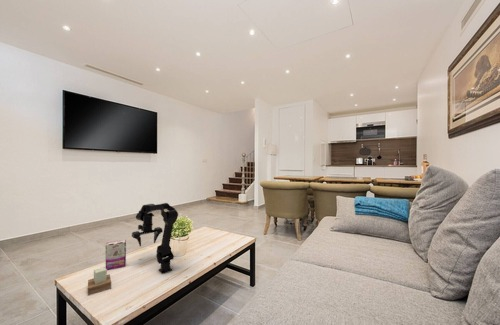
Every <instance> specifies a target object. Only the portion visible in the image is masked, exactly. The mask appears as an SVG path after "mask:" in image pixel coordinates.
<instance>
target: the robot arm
mask: <svg viewBox="0 0 500 325" xmlns="http://www.w3.org/2000/svg"><path fill="white" fill-rule="evenodd" d="M165 210H167V211H165ZM155 211H160V215H161V217H162V218H163V219H162V220H163V222H164V228H162V227H160V226H158V227H154V229H153V225H154V224H153V217H155V214H153V213H154V212H155ZM178 216H179V213H178V210H176V208H175V207H173V206H171V205H170V204H169V203H168V202H163V203H160V204H158V203H157V204H154V203H148V204H143V205H142V206H141V208H140V209H139V211H138V212H137V214H136V215H135V219H136V220H137V221H140V222H142V224H138V225H137V231H132V233H131V237H132V238H133V239H134V240H135V239H136V240H137V242H138V244H139V245H138V246H139V247H142V237H141V236H143V235H147V234H151V233H152V234H153V243H154V244H155V243H156V241H157V239H158V237H159V236H160V235H161V233H163V234H162V239H161V243H160V245H157V247H156V250H155V252H156V255H155V256H156V261H157V263H158V264H160V268H158V271H159V272H160V273H161V274H162V275H163V274H166V273H168V272H171V271H173V268H172V267H171V260H174V258H175V256H174V254H173V252H172V246H171V245H170V244H171V239H172V234H173V233H172V232H173V227H174V224H175V223H176V222H177V219H178V218H179V217H178ZM139 230H140V231H139Z"/></svg>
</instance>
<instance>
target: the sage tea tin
mask: <svg viewBox="0 0 500 325" xmlns="http://www.w3.org/2000/svg"><path fill="white" fill-rule="evenodd" d="M107 271H108V270H106V266H102V267H99V268H95V269H93V278H94V282H95V284H98V283H101V282H104V281H106V280H107V275H108V274H107Z"/></svg>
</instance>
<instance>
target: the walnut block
mask: <svg viewBox="0 0 500 325" xmlns="http://www.w3.org/2000/svg"><path fill="white" fill-rule="evenodd" d="M111 279H112V278H111V274H107V280H106V281H104V282H101V283H98V284H95V282H94V277H93V278H90V279H88V280H87V296H91V295H94V294H97V293H100V292H104V291H107V290H111V289H112V280H111Z"/></svg>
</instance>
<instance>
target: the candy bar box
mask: <svg viewBox="0 0 500 325" xmlns="http://www.w3.org/2000/svg"><path fill="white" fill-rule="evenodd" d="M126 265H127V239H123V240H116V241H109V242H106V244H105V268H106V270H107V271H109V270H114V269H119V268H122V267H123V268H125V267H126Z"/></svg>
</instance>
